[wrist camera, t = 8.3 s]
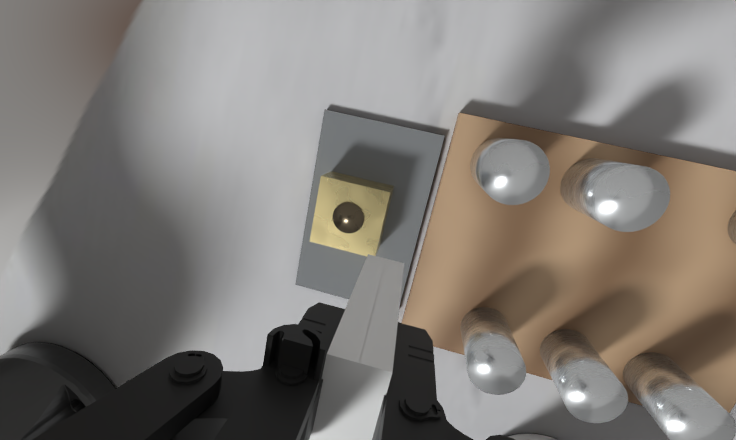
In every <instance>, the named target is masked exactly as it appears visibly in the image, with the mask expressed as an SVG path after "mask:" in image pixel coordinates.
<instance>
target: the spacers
mask: <svg viewBox="0 0 736 440" xmlns="http://www.w3.org/2000/svg"><path fill="white" fill-rule="evenodd" d="M470 170H471V174H472V177H473V179H474V180H475V181H476V182H477V184H478V185H479V186H480V187H481V188H482V189H483V190H484V191H485V192H486V193H487V194H488V195H489V196H490V197H491V198H492V199H494V200H495V201H497V202H499V203H502V204H506V205H519V204H523V203H526V202H528V201H530V200H532V199H534V198H535V197H536V196H538V195H539V194H540V193H541V192H542V190H543V189H544V187H545V186H546V184H547V182H548V179H549V174H550V166H549V161H548V158H547V156H546V154H545V153H544V151H543V150H542V149H541V148H540V147H538V146H537V145H535V144H534V143H532V142H529V141H526V140H518V139H507V138H494V139H490V140H487V141H485V142H484V143H482V144H481V145H480V146H479V147H478V148H477V149H476V150H475V152H474V153H473V155H472V158H471V162H470ZM560 192H561V196H562V198H563V200H564V201H565V203H566V204H567V205H569V206H570V207H571V208H573V209H575V210H577V211H579V212H581V213H582V214H584V215H586V216H588V217H590V218H592V219H594V220H596V221H598V222H599V223H601V224H603V225H605V226H607V227H609V228H611V229H613V230H616V231H621V232H633V231H638V230H642V229H644V228H647V227H649V226H650V225H652V224H653V223H655V222H656V221H657V220H658V219H659V218H660V217H661V216H662V215H663V214H664V212H665V211H666V209H667V207H668V204H669V201H670V188H669V185H668V182H667V181H666V179H665V178H664V176H663V175H662V174H660V173H659V172H658V171H656V170H654V169H652V168H649V167H646V166H640V165H634V164H627V163H621V162H615V161H609V160H603V159H596V158H590V159H584V160H581V161H579V162H577V163H575V164H574V165H572V166H571V167H570V168H569V169H568V170H567V171H566V172H565V174H564V176H563V178H562V180H561V184H560ZM728 235H729V237H730V239H731V240H732V242H733V243H734V244H735V245H736V210H735V212H734V213H733V214H732V216H731V217H730V220H729V223H728ZM460 329H461V335H462V341H463V347H464V353H465V359H466V365H467V371H468V376H469V378H470V380H471V382H472V383H473V384H474V385H475V386H476V387H477V388H478V389H480V390H481V391H483V392H486V393H489V394H495V395H501V394H507V393H510V392H512V391H514V390H516V389H517V388H518V387H520V386H521V384H522V383H523V381H524V380H525V377H526V366H525V363H524V361H523V358H522V356H521V354H520V351H519V349H518V346H517V344H516V342H515V339H514V337H513V334H512V332H511V330H510V327H509V325H508V322H507V320H506V318H505V317H504V316H503V315H502V314H501V313H500V312H499V311H497V310H495V309H492V308H488V307H479V308H475V309H473V310H471V311H469V312H468V313H467V314H466V315H465V316H464V317H463V319H462V321H461V326H460ZM540 355H541V358H542V360H543V362H544V364H545V366H546V368H547V370H548V372H549V374H550V376H551V378H552V380H553V382H554V384H555V386H556V388H557V390H558V392H559V394H560V395H561V397H562V399H563V401H564V403H565V405H566V407H567V409H568V411H569V412H570V413H571V414H572V415H573V416H574V417H576V418H577V419H579V420H581V421H584V422H588V423H604V422H608V421H611V420H613V419H615V418H617V417H618V416H619V415H621V414H622V413H623V411H624V410H625V408H626V406H627V403H628V394H627V391H626V389H625V388H624V386H623V385H622V384H621V382H620V381H619V380H618V378H617V377H616V376H615V374H614V373H613V372H612V371H611V369H610V368H609V367H608V365H607V364H606V363H605V361H604V360H603V359H602V358H601V356H600V355H599V354H598V352H597V351H596V350H595V348H594V347H593V346H592V345H591V343H590V342H589V341H588V339H587V338H586V337H585V336H584V335H583V334H581V333H580V332H577V331H575V330H570V329H561V330H557V331H554V332H552V333H550V334H548V335H547V336H546V337H545V338H544V339H543V341H542V343H541V345H540ZM623 379H624V381H625V383H626V385H627V386H628V387H629V388H630V390H631V391H632V392H633V394H634V395H635V396H636V397H637V399H638V400H639V401H640V402H641V404H642V405H643V406H644V408H645V409H646V410H647V411H648V413H649V414H650V415H651V416H652V418H653V419H654V420H655V422H656V423H657V424H658V425H659V427H660V428H661V429H662V430H663V432H664V433H665V434H666V436H667V437H668V438H669V439H670V440H732V439H733V438H734V436H735V433H736V423H735V420H734V418H733V417H732V416H731V415H730V414H729V413H728V412H727V411H726V410H725V409H724V408H723V407H722V406H721V405H720V404H719V403H718V402H717V401H716V400H714V399H713V398H712V397H711V396H710V395H709V394H708V393H707V392H706V391H705V390H704V389H703V388H702V387H701V386H699V385H698V384H697V383H696V382H695V381H694V380H693V379H692V378H691V377H690V376H689V375H688V374H687V373H686V372H685V371H683V370H682V369H681V368H680V367H679V366H678V365H677V364H676V363H675V362H674V361H673V360H672V359H670V358H669V357H668V356H666V355H664V354H661V353H655V352H648V353H642V354H639V355H637V356H635V357H633V358H632V359H630V360H629V361H628V362H627V364H626V365H625V367H624V369H623Z"/></svg>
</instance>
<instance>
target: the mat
mask: <svg viewBox="0 0 736 440" xmlns="http://www.w3.org/2000/svg"><path fill="white" fill-rule="evenodd" d="M444 137H445V136H443V135H439V134H434V133H430V132H425V131H421V130H416V129H412V128H407V127H403V126H398V125H393V124H389V123H384V122H380V121H375V120H371V119H366V118H362V117H357V116H353V115H348V114H343V113H339V112H334V111H330V110H325V111H324V117H323V123H322V129H321V135H320V141H319V147H318V153H317V159H316V165H315V171H314V177H313V183H312V189H311V195H310V201H309V207H308V213H307V219H306V225H305V231H304V236H303V242H302V248H301V254H300V260H299V266H298V272H297V278H296V285H299V286H303V287H306V288H310V289H314V290H317V291H321V292H324V293H328V294H332V295H335V296H339V297H342V298H346V299H350V297H351V294H352V292H353V289H354V287H355V285H356V282H357V280H358V277H359V275H360V272H361V270H362V268H363V265H364V263H365V260H366V258H367V256H363V255H359V254H355V253H352V252H348V251H344V250H340V249H336V248H333V247H329V246H325V245H321V244H317V243H314V242H310V236H311V230H312V224H313V218H314V213H315V207H316V201H317V195H318V190H319V184H320V178H321V175H324V174H326V173H329V172H331V171H333V172H337V173H341V174H345V175H350V176H354V177H358V178H362V179H366V180H370V181H375V182H379V183H383V184H387V185H391V186H394V188H393V193H392V197H391V201H390V205H389V210H388V214H387V218H386V222H385V226H384V231H383V235H382V239H381V243H380V247H379V249H378V252H377V254H376V256H377V257H381V258H385V259H389V260H393V261H397V262H401V263H404V270H403V279H402V288H401V298H402V294H403V291H404V287H405V283H406V279H407V276H408V272H409V268H410V264H411V261H412V257H413V253H414V249H415V246H416V242H417V238H418V234H419V231H420V227H421V223H422V219H423V215H424V212H425V208H426V204H427V200H428V197H429V193H430V189H431V185H432V182H433V178H434V174H435V170H436V167H437V163H438V159H439V155H440V152H441V148H442V144H443V140H444ZM401 298H400V302H401Z"/></svg>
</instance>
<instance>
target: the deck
mask: <svg viewBox="0 0 736 440" xmlns="http://www.w3.org/2000/svg"><path fill="white" fill-rule="evenodd" d="M494 138H507V139H518V140H526V141H529V142H532V143H534V144H535V145H537V146H538V147H540V148H541V149H542V150H543V151H544V153H545V154H546V156H547V158H548V161H549V166H550V174H549V179H548V182H547V184H546V186H545V187H544V189H543V190H542V192H541V193H540V194H539V195H538V196H536V197H535V198H534V199H532V200H530V201H528V202H526V203H523V204H519V205H506V204H502V203H499V202H497V201H495V200H494V199H492V198H491V197H490V196H489V195H488V194H487V193H486V192H485V191H484V190H483V189H482V188H481V187H480V186H479V185H478V184H477V182H476V181H475V180H474V179H473V177H472V174H471V170H470V162H471V158H472V155H473V153H474V152H475V150H476V149H477V148H478V147H479V146H480V145H481V144H482V143H484V142H485V141H487V140H490V139H494ZM590 158H596V159H603V160H609V161H615V162H621V163H627V164H634V165H640V166H646V167H649V168H652V169H654V170H656V171H658V172H659V173H660V174H662V175H663V176H664V178H665V179H666V181H667V182H668V185H669V188H670V201H669V204H668V207H667V209H666V211H665V212H664V214H663V215H662V216H661V217H660V218H659V219H658V220H657V221H656V222H655V223H653V224H652V225H650V226H649V227H647V228H644V229H642V230H638V231H633V232H621V231H616V230H613V229H611V228H609V227H607V226H605V225H603V224H601V223H599V222H598V221H596V220H594V219H592V218H590V217H588V216H586V215H584V214H582V213H581V212H579V211H577V210H575V209H573V208H571V207H570V206H569V205H567V204H566V203H565V201H564V200H563V198H562V196H561V192H560V184H561V180H562V178H563V176H564V174H565V172H566V171H567V170H568V169H569V168H570V167H571V166H572V165H574V164H575V163H577V162H579V161H581V160H584V159H590ZM735 210H736V171H732V170H728V169H723V168H718V167H714V166H709V165H704V164H699V163H695V162H690V161H685V160H681V159H676V158H671V157H666V156H662V155H657V154H652V153H648V152H643V151H638V150H633V149H629V148H624V147H619V146H614V145H610V144H605V143H600V142H596V141H591V140H586V139H581V138H577V137H572V136H567V135H563V134H558V133H553V132H548V131H544V130H539V129H534V128H530V127H525V126H520V125H515V124H511V123H506V122H501V121H497V120H492V119H487V118H482V117H478V116H473V115H468V114H464V113H459V114H458V117H457V121H456V125H455V128H454V132H453V136H452V140H451V143H450V147H449V151H448V154H447V158H446V162H445V165H444V169H443V173H442V176H441V180H440V184H439V187H438V191H437V195H436V198H435V202H434V206H433V209H432V213H431V217H430V220H429V224H428V228H427V231H426V235H425V239H424V242H423V246H422V250H421V253H420V257H419V261H418V264H417V268H416V272H415V275H414V279H413V283H412V286H411V290H410V294H409V297H408V301H407V305H406V308H405V312H404V316H403V319H402V324H406V325H410V326H414V327H417V328H421V329H425V330H426V331H427V333H428V334H429V336H430V337H431V339H432V341H433V346H434V347H438V348H441V349H445V350H448V351H452V352H455V353H459V354H462V355H465V353H464V347H463V341H462V335H461V329H460V326H461V321H462V319H463V317H464V316H465V315H466V314H467V313H468V312H469V311H471V310H473V309H475V308H479V307H488V308H492V309H495V310H497V311H499V312H500V313H501V314H502V315H503V316H504V317H505V318H506V320H507V322H508V325H509V327H510V330H511V332H512V334H513V337H514V339H515V342H516V344H517V346H518V349H519V351H520V354H521V356H522V358H523V361H524V363H525V366H526V373H529V374H533V375H536V376H540V377H543V378H547V379H550V380H552V378H551V376H550V374H549V372H548V370H547V368H546V366H545V364H544V362H543V360H542V358H541V355H540V345H541V343H542V341H543V339H544V338H545V337H546V336H547V335H548V334H550V333H552V332H554V331H557V330H561V329H570V330H575V331H577V332H580V333H581V334H583V335H584V336H585V337H586V338H587V339H588V341H589V342H590V343H591V345H592V346H593V347H594V348H595V350H596V351H597V352H598V354H599V355H600V356H601V358H602V359H603V360H604V361H605V363H606V364H607V365H608V367H609V368H610V369H611V371H612V372H613V373H614V374H615V376H616V377H617V378H618V380H619V381H620V382H621V384H622V385H623V386H624V388H625V389H626V391H627V394H628V402H631V403H635V404H638V405H642V404H641V402H640V401H639V400H638V399H637V397H636V396H635V395H634V394H633V392H632V391H631V390H630V388H629V387H628V386H627V385H626V383H625V381H624V379H623V369H624V367H625V365H626V364H627V362H628V361H629V360H630V359H632V358H633V357H635V356H637V355H639V354H642V353H648V352H655V353H661V354H664V355H666V356H668V357H669V358H670V359H672V360H673V361H674V362H675V363H676V364H677V365H678V366H679V367H680V368H681V369H682V370H683V371H685V372H686V373H687V374H688V375H689V376H690V377H691V378H692V379H693V380H694V381H695V382H696V383H697V384H698V385H699V386H701V387H702V388H703V389H704V390H705V391H706V392H707V393H708V394H709V395H710V396H711V397H712V398H713V399H714V400H716V401H717V402H718V403H719V404H720V405H721V406H722V407H723V408H724V409H725V410H726V411H727V412H728V413H730V411H731V410H732V408H733V406H734V405H735V403H736V245H735V244H734V243H733V242H732V240H731V239H730V237H729V235H728V223H729V220H730V217H731V216H732V214H733V213H734V212H735ZM642 406H643V405H642Z"/></svg>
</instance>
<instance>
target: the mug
mask: <svg viewBox="0 0 736 440" xmlns="http://www.w3.org/2000/svg"><path fill="white" fill-rule="evenodd" d="M508 437H510V438H513V439H515V440H557V439H554V438H552V437H549V436H545V435H540V434H527V433H526V434H516V435H511V436H508Z"/></svg>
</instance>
